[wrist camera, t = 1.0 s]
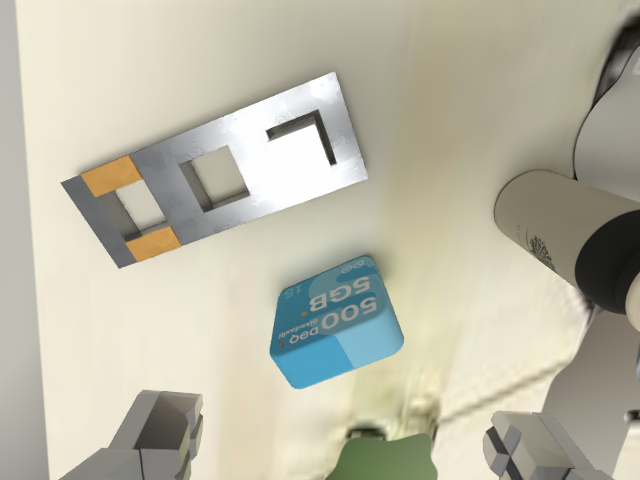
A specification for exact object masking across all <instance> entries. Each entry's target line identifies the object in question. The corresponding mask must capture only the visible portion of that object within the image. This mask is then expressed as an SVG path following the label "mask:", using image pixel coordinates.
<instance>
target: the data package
mask: <svg viewBox="0 0 640 480" xmlns="http://www.w3.org/2000/svg"><path fill="white" fill-rule="evenodd" d="M403 343H404V336H403V334H402V331H401V328H400V325H399V323H398V320H397V317H396V315H395V312H394V309H393V306H392V304H391V301H390V298H389V295H388V293H387V290H386V287H385V285H384V283H383V281H382V279H381V277H380V275H379V272H378V270H377V268H376V266H375V264H374V262H373V260H372V258H370V257H367V256H364V257H359V258H356V259H354V260H352V261H349V262H347V263H345V264H342V265H340V266H338V267H335V268H333V269H331V270H328V271H326V272H324V273H322V274H319V275H317V276H315V277H312V278H310V279H308V280H305V281H303V282H301V283H298V284H296V285H294V286H291V287H289V288H287V289H286V290H285V291H283V292H282V293H281V294H280V296H279V298H278V303H277V309H276V315H275V321H274V327H273V333H272V339H271V345H270V356H271V357H272V359H273V360H274V362H275V363H276V365H277V366H278V367H279V369H280V370H281V372H282V373H283V375H284V376H285V378H286V379H287V380H288V382H289V383H290V385H291V386H292V387H293V388H295V389H304V388H307V387H309V386H312V385H315V384H317V383H320V382H323V381H325V380H328V379H330V378H333V377H336V376H338V375H341V374H344V373H346V372H349V371H352V370H354V369H357V368H360V367H362V366H365V365H368V364H370V363H373V362H376V361H378V360H381V359H383V358H386V357H389V356H391V355H393V354H395V353H397V352H398V351H399V350H400V349H401V347H402V346H403Z"/></svg>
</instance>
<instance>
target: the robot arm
mask: <svg viewBox="0 0 640 480" xmlns="http://www.w3.org/2000/svg"><path fill="white" fill-rule="evenodd" d="M574 162H575V171H576V176H577V179H578V181H579V182H582V183H585V184H588V185H591V186H593V187H596V188H599V189H602V190H605V191H608V192H611V193H614V194H616V195H619V196H622V197H625V198H628V199H631V200H634V201H637V202H640V46H638V48H637V49H636V50H635V51H634V53H633V54H632V56H631V58H630V60H629V61H628V63H627V65H626V67H625V69H624V71H623V73H622V75H621V77H620V78H619V79H618V81H617V82H616V83H615V84H614V85H613V86H612V87H611V89H610V90H609V91H608V92H607V93H606V94H605V95H604V96H603V97H602V98H601V99H600V100H599V101H598V103H597V104H596V105H595V107H594V108H593V109H592V111H591V112H590V114H589V116H588V117H587V119H586V121H585V123H584V125H583V127H582V129H581V131H580V134H579V137H578V140H577V144H576V149H575V160H574ZM202 405H203V401H202V395H201V394H192V393H180V392H168V391H152V390H142V391H141V392H140V393H139V394H138V395H137V397H136V399H135V401H134V403H133V404H132V406H131V408H130V410H129V411H128V413H127V415H126V417H125V419H124V420H123V422H122V424H121V426H120V428H119V429H118V431H117V433H116V435H115V436H114V438H113V440H112V442H111V444H110V445H109V447H108V448H101V449H100V450H98V451H97V452H95V453H94V454H93V455H91V456H90V457H89V458H87V459H86V460H85V461H83V462H82V463H81V464H79V465H78V466H77V467H75V468H74V469H72V470H71V471H70V472H68V473H67V474H66V475H64V476H63V477H62V478H60V479H59V480H189V479H190V476H191V460H193V459H194V458H195V457H196V456H197V452H198V449H199V446H200V441H201V436H202V429H203V416H202V415H201V414H200V411H201V408H202ZM491 422H492V424H493V427H491V428H490V429H488V430H487V431H486V432H485V435H484V438H483V452H484V455H485V459H486V461H487V463H488V466H489V468H490V469H491V470H492V471H493V472H494V473H495V474H496V475H497V476H499V480H614V479H613V478H611V477H610V476H609V475H607V474H606V473H604V472H603V471H601V470H595V468H594V467H593V466H592V464H591V463H590V462H589V460H588V459H587V458H586V456H585V455H584V454H583V452H582V451H581V450H580V449H579V447H578V446H577V445H576V443H575V442H574V441H573V440H572V438H571V437H570V436H569V434H568V433H567V432H566V431H565V429H564V428H563V426H562V425H561V424H560V422H559V421H558V420H557V419H556V417H554V416H553V415H552V414H550V413H534V412H532V413H530V412H517V411H497V412H495V413H494V414H493V416H492V418H491Z"/></svg>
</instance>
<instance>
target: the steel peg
mask: <svg viewBox="0 0 640 480" xmlns="http://www.w3.org/2000/svg"><path fill="white" fill-rule="evenodd" d="M266 145H267V148H268V150H269V152H270V155H271V157H272V159H273V162H274V164H275V167H276V169H277V171H278V174H279V176H280V178H281V181H282V183H283V186H284V188H285V190H286V191H288V190H291V189H293V188H296V187H299V186H301V185H304V184H307V183H309V182H312V181H315V180H318V179H320V178H323V177H326V176H328V175H331V174H332V169H331V165H330V161H329V157H328V153H327V150H326V147H325V145H324V142H323V139H322V136H321V133H320V130H319V128H318V125H317V122H316V119H315V116H313V117H310V118H308V119H305V120H303V121H300V122H298V123H295V124H292V125H290V126H287V127H285V128H282V129H280V130H277V131H276V132H275V133H274V135H273V136H272V137H271V138H270V139H269V140H268V142H267V143H266Z"/></svg>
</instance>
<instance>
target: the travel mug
mask: <svg viewBox="0 0 640 480" xmlns="http://www.w3.org/2000/svg"><path fill="white" fill-rule="evenodd" d="M495 220H496V224H497V226H498V228H499V229H500V230H501V231H502V232H503V233H504V234H505V235H506V236H508V237H509V238H510V239H512V240H513V241H514V242H516V243H517V244H518V245H520V246H521V247H522V248H524V249H525V250H526V251H527V252H529V253H530V254H531V255H533V256H534V257H535V258H537V259H538V260H539V261H541V262H542V263H543V264H545V265H546V266H547V267H549V268H550V269H551V270H553V271H554V272H555V273H557V274H558V275H559V276H560V277H562V278H563V279H564V280H566V281H567V282H568V283H570V284H571V285H572V286H574V287H575V288H576V289H578V290H579V291H580V292H582V293H583V294H584V295H586V296H587V297H588V298H590V299H591V300H592V301H594V302H595V303H596V304H597V305H599V306H600V307H602V308H603V309H605V310H607V311H610V312H613V313H618V314H624V315H627V317H628V319H629V321H630V323H631V324H632V325H633V326H634V327H635V328H636V329H637V330H638V331H640V202H637V201H634V200H631V199H628V198H625V197H622V196H619V195H616V194H614V193H611V192H608V191H605V190H602V189H599V188H596V187H593V186H591V185H588V184H585V183H582V182H579V181H576V180H573V179H570V178H568V177H565V176H562V175H559V174H556V173H553V172H550V171H545V170H536V171H530V172H527V173H525V174H522V175H520V176H518V177H517V178H515V179H514V180H512V181H511V182H510V183H509V184H508V185H507V186H506V187H505V188H504V189H503V191H502V192H501V194H500V195H499V197H498V200H497V202H496V206H495Z"/></svg>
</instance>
